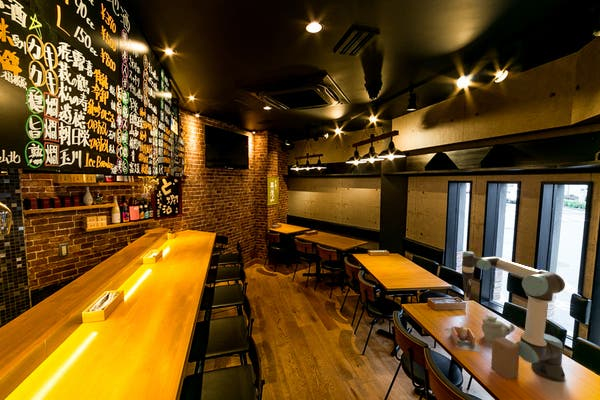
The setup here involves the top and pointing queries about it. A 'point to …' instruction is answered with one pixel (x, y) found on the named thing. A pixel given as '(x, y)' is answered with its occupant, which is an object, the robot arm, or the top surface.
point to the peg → (463, 333)
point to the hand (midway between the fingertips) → (466, 300)
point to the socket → (464, 341)
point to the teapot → (495, 328)
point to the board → (465, 346)
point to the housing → (456, 331)
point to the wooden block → (505, 357)
